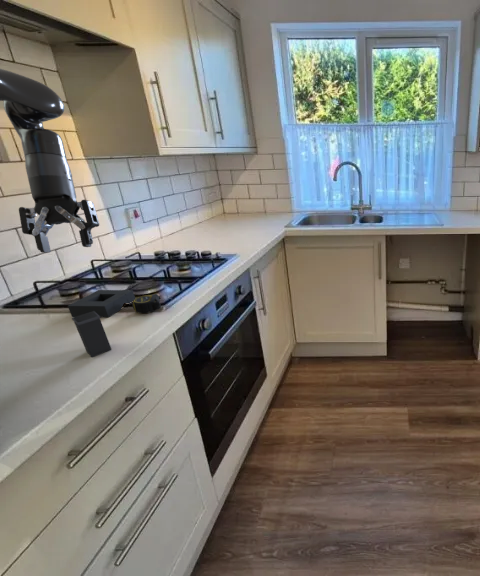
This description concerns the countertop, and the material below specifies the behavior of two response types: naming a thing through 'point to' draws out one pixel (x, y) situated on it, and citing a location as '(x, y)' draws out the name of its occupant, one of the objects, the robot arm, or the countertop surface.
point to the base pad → (102, 302)
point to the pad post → (92, 333)
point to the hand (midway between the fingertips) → (66, 249)
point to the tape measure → (146, 303)
